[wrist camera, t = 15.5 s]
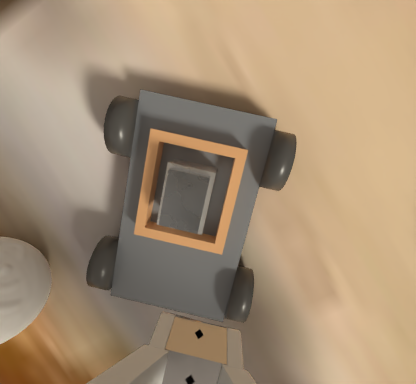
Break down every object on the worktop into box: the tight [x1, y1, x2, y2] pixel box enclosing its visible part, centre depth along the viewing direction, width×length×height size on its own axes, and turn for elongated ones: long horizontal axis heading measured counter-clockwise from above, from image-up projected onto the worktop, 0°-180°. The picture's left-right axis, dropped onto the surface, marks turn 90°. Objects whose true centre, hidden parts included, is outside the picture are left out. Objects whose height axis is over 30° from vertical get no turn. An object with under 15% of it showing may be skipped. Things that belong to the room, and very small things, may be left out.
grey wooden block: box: [157, 159, 217, 235], centre depth 24 cm, size 6×4×5 cm
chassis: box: [86, 89, 296, 323], centre depth 27 cm, size 24×18×6 cm
